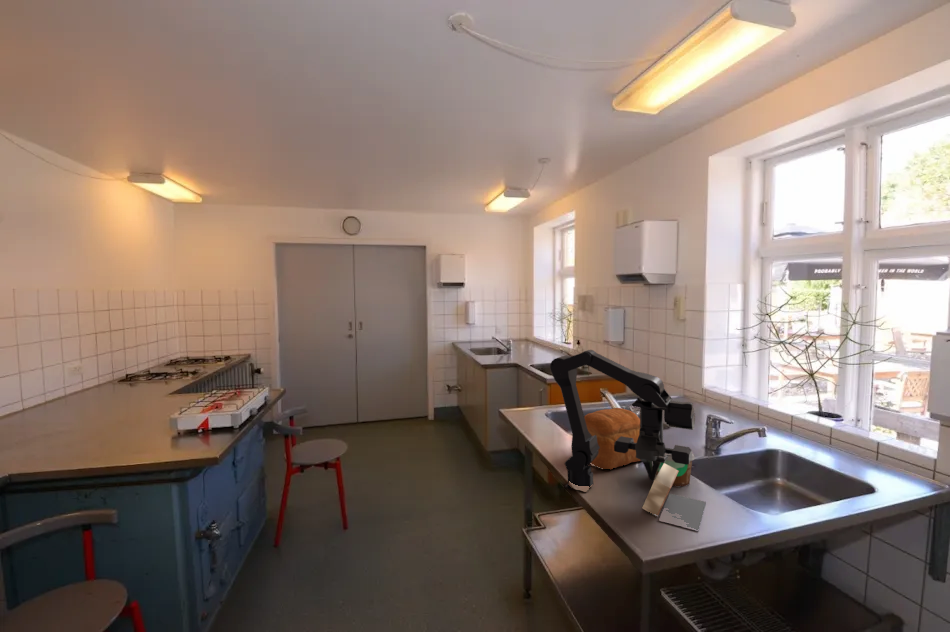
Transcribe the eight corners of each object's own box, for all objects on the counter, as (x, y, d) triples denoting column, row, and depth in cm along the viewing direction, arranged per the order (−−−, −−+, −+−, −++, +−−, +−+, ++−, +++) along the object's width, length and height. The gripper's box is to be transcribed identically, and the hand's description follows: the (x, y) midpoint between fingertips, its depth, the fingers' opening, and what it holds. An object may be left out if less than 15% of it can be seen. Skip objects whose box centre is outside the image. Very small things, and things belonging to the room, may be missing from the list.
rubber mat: (657, 521, 105) (657, 519, 105) (669, 494, 118) (669, 493, 118) (698, 532, 100) (698, 530, 100) (705, 503, 113) (705, 501, 113)
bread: (570, 456, 148) (569, 410, 147) (615, 445, 157) (615, 401, 156) (606, 475, 132) (605, 423, 131) (654, 461, 141) (653, 412, 140)
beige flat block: (642, 508, 109) (654, 479, 107) (652, 489, 119) (664, 463, 117) (657, 517, 107) (670, 488, 105) (666, 497, 117) (678, 470, 115)
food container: (644, 479, 128) (644, 448, 127) (652, 473, 132) (652, 442, 132) (687, 492, 119) (687, 458, 119) (694, 485, 123) (694, 452, 123)
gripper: (607, 427, 111) (608, 484, 112) (685, 438, 100) (685, 502, 101) (619, 416, 120) (620, 469, 121) (691, 425, 109) (692, 483, 110)
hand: (652, 480), depth 113 cm, fingers closed
